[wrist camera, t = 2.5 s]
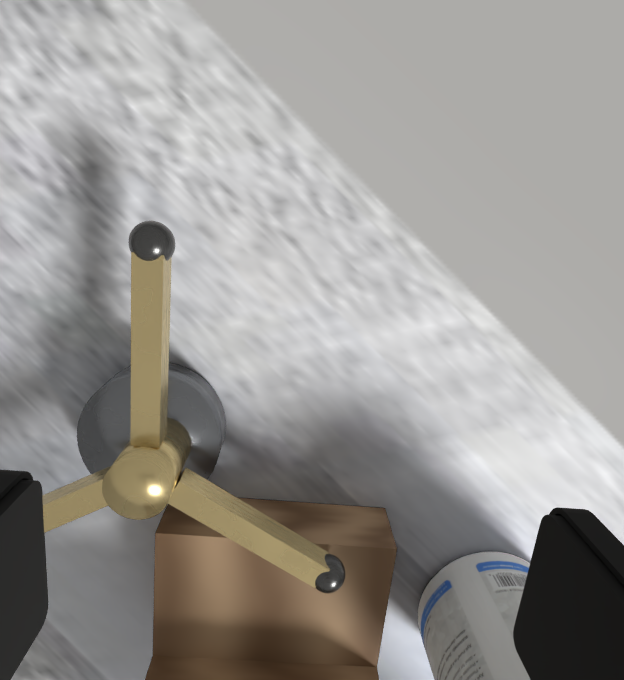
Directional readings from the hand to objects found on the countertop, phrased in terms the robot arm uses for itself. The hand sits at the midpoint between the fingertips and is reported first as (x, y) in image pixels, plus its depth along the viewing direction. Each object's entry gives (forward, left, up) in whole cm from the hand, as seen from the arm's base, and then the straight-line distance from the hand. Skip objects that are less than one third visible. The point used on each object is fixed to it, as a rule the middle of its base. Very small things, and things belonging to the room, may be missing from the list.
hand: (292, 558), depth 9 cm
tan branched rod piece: (+7, +5, -20) cm, 22 cm away
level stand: (0, +17, -20) cm, 27 cm away
